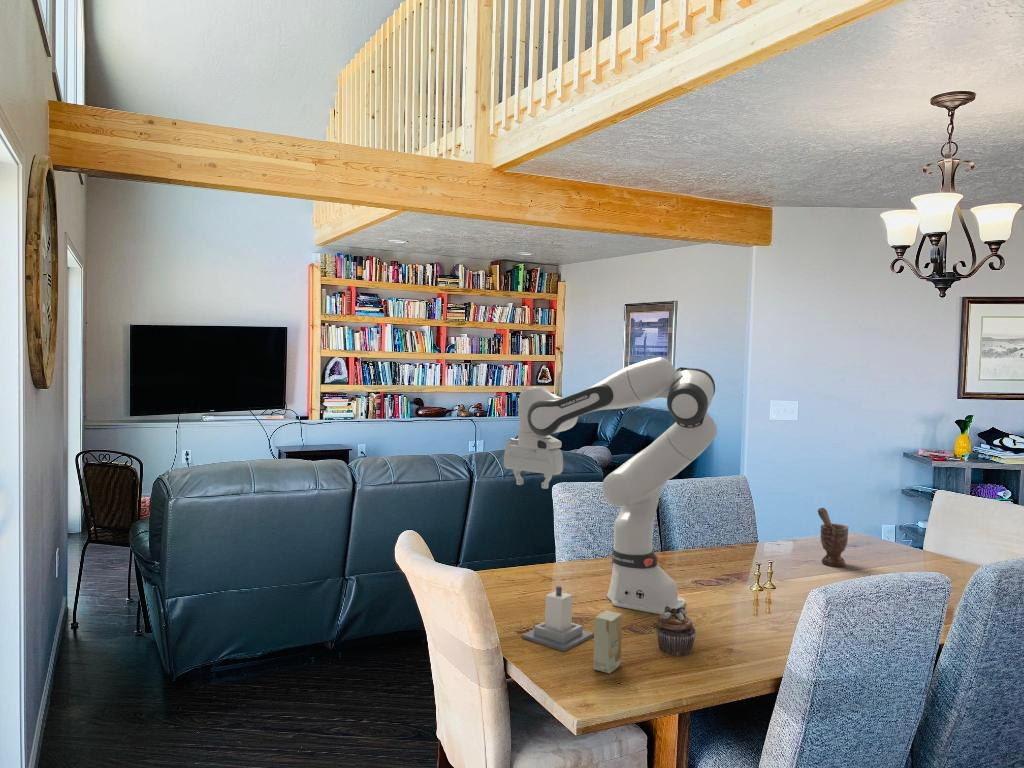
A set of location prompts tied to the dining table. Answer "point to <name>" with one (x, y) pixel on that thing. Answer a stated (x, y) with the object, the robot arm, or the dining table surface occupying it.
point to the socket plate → (558, 636)
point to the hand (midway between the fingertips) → (532, 486)
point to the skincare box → (607, 641)
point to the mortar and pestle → (832, 540)
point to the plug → (558, 611)
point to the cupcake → (675, 632)
